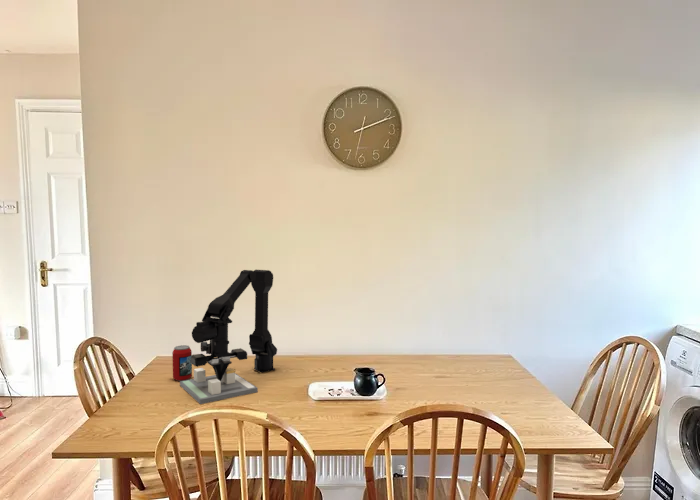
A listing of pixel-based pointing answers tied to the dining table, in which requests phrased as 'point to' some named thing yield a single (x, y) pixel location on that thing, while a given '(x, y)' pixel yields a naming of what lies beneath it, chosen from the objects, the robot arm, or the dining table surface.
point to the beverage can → (182, 363)
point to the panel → (227, 390)
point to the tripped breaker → (229, 376)
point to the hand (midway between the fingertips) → (219, 381)
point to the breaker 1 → (199, 375)
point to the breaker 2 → (214, 386)
